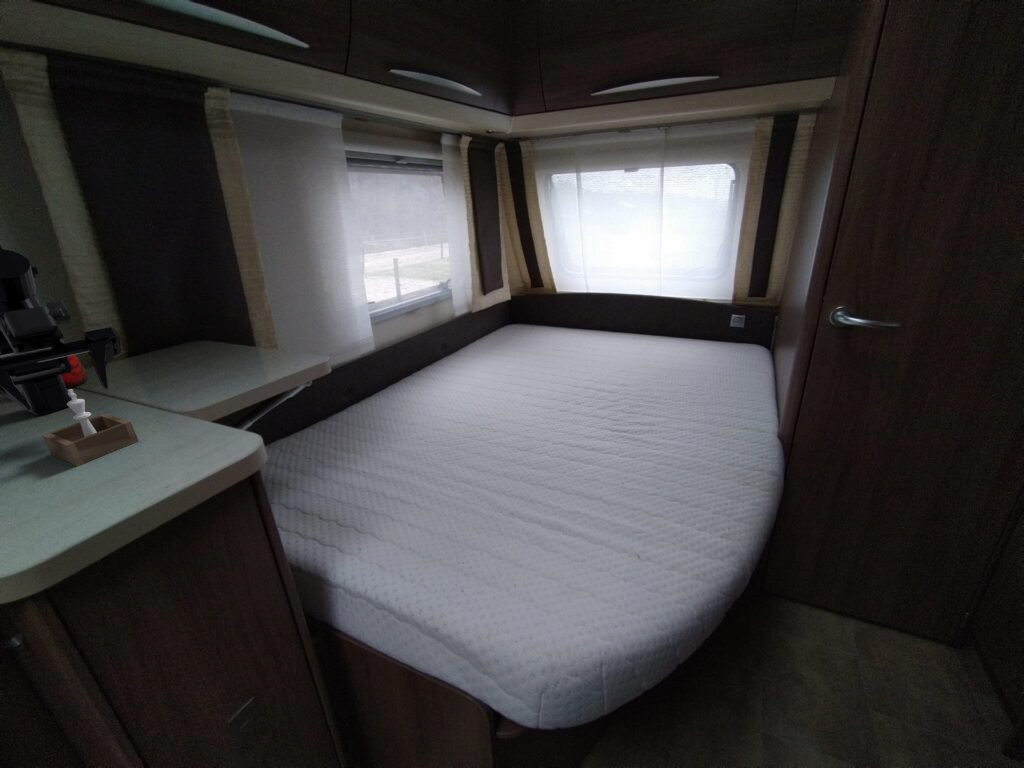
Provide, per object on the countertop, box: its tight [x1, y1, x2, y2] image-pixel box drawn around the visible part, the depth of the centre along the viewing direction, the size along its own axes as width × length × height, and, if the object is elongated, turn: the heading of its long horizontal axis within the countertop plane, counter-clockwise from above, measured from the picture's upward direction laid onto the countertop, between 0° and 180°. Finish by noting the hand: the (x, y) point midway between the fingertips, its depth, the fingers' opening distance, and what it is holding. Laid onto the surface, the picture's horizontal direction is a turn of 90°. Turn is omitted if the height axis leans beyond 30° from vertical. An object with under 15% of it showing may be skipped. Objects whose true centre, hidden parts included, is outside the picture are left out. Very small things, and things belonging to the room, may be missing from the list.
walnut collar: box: [42, 413, 139, 467], centre depth 70 cm, size 8×8×4 cm
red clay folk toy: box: [61, 355, 88, 389], centre depth 95 cm, size 8×7×15 cm
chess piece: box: [67, 388, 97, 437], centre depth 69 cm, size 5×5×10 cm
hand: (69, 397), depth 70 cm, fingers open, 9 cm apart
